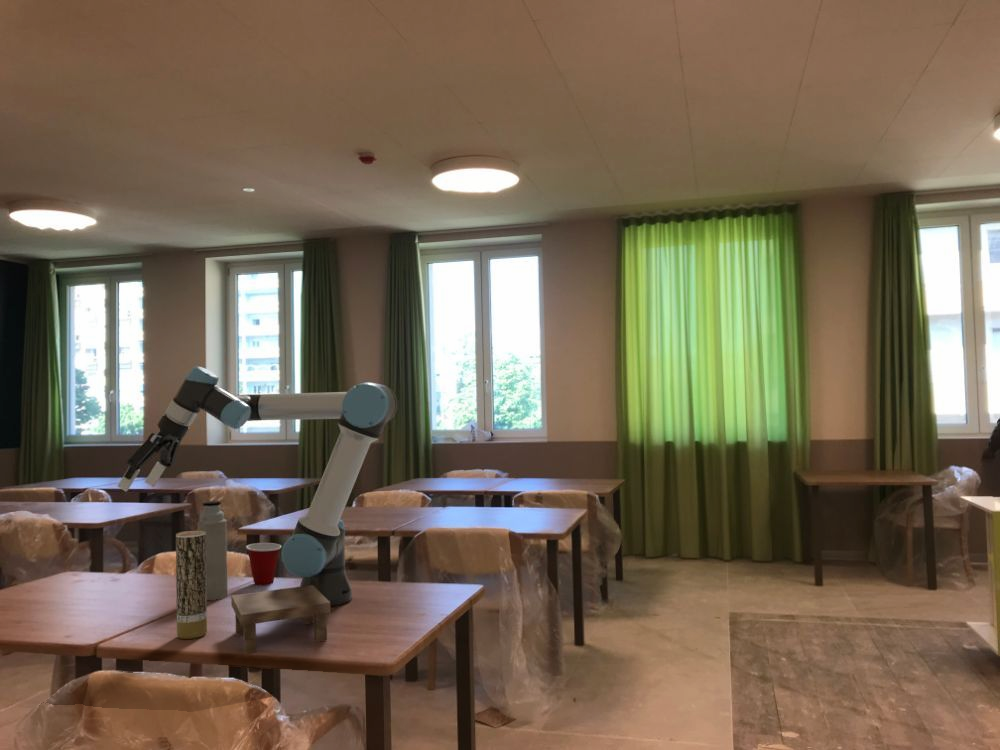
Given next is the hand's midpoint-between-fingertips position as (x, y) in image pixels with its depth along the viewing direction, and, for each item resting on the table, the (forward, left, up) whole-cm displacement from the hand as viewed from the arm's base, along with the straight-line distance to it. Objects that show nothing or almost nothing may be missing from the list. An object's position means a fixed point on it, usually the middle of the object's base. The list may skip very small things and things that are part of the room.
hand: (136, 486), depth 204 cm
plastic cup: (-36, -21, -35) cm, 55 cm away
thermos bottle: (-20, -11, -35) cm, 42 cm away
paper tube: (-12, +27, -35) cm, 46 cm away
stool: (-31, +39, -35) cm, 61 cm away
